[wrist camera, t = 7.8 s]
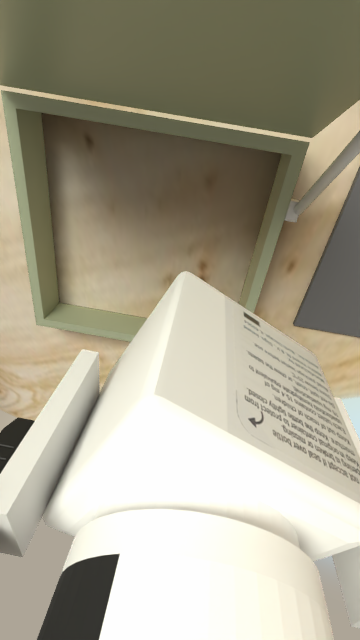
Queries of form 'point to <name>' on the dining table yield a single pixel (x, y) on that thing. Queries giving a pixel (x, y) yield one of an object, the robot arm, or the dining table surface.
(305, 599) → the container
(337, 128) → the dining table surface
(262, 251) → the case
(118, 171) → the dining table surface
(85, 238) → the dining table surface
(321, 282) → the mat
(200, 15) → the lid
